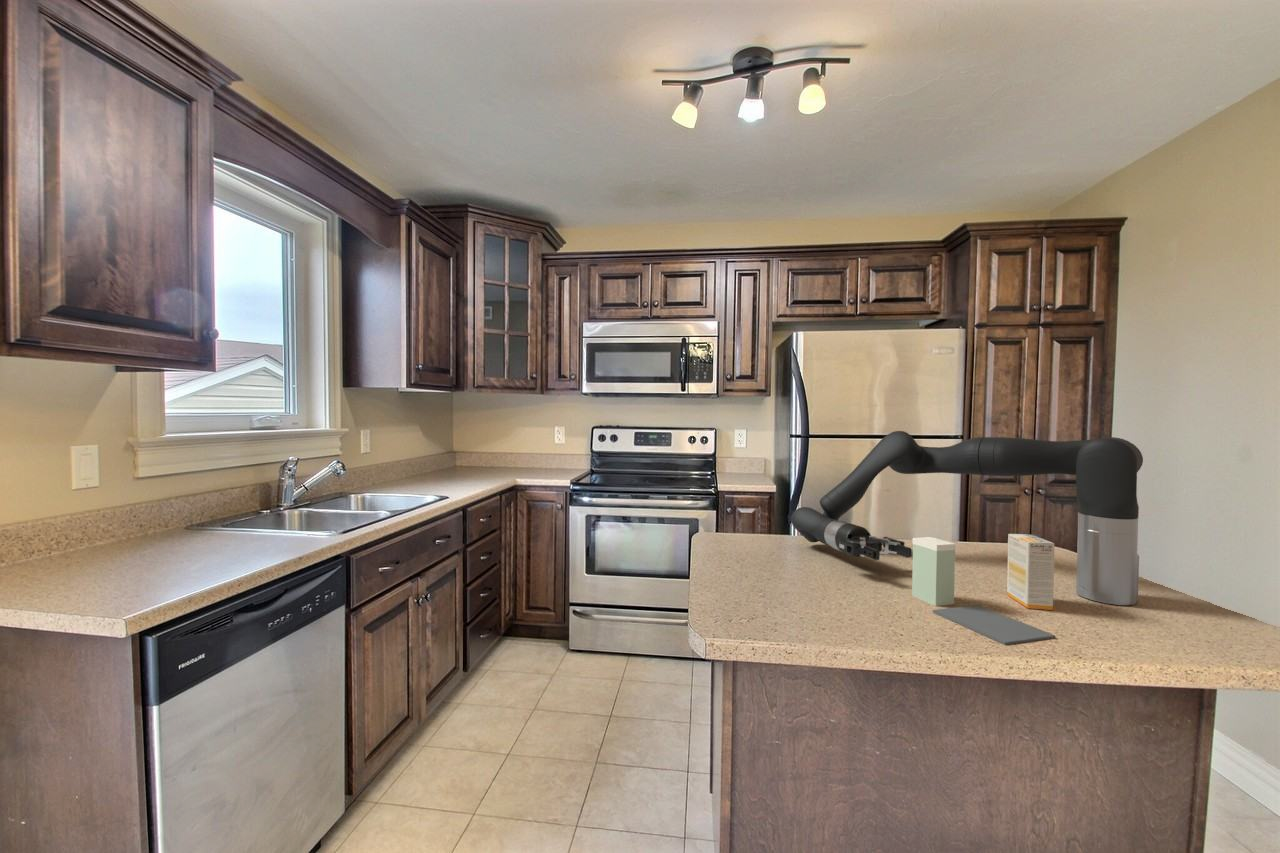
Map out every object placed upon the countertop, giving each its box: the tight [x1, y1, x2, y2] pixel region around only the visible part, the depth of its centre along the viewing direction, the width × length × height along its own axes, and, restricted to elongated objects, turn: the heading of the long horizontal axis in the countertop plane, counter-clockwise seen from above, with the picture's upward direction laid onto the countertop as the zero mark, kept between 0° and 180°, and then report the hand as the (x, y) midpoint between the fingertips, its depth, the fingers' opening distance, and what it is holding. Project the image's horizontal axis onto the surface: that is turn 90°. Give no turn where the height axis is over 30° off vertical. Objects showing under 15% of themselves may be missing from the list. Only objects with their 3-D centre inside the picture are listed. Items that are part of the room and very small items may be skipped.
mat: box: [932, 604, 1056, 646], centre depth 93 cm, size 11×14×1 cm
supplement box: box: [1006, 533, 1055, 611], centre depth 104 cm, size 8×5×13 cm, turn 168°
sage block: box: [911, 536, 957, 607], centre depth 105 cm, size 5×6×12 cm
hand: (894, 554), depth 115 cm, fingers open, 8 cm apart
